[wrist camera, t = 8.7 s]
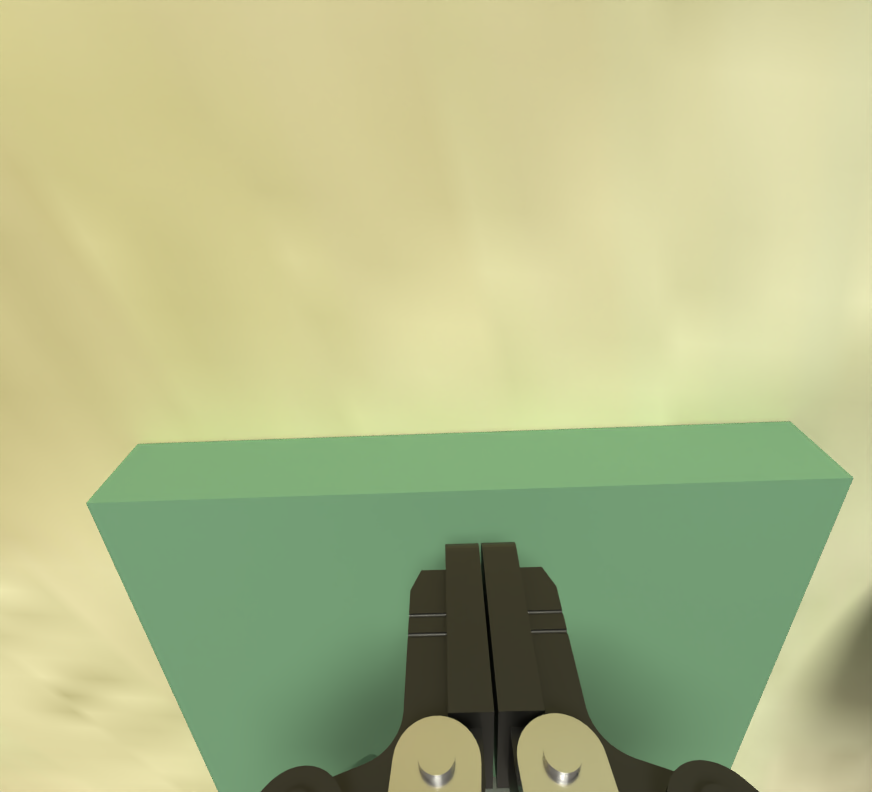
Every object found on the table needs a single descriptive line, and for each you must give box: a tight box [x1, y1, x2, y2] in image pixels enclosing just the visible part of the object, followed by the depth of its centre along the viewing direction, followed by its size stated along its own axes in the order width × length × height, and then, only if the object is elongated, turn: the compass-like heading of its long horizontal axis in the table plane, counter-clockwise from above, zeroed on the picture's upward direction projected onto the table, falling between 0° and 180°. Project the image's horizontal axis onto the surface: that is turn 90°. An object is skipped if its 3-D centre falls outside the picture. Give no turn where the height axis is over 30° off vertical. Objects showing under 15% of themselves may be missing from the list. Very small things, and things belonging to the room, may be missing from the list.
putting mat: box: [86, 421, 853, 792], centre depth 19 cm, size 18×22×2 cm
